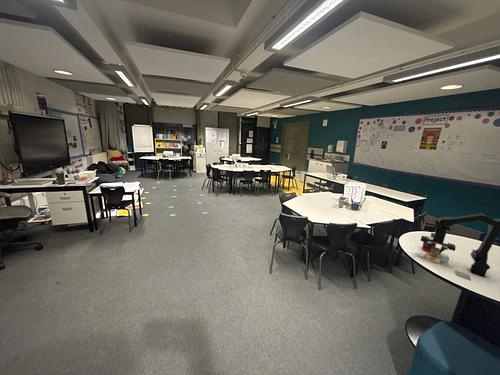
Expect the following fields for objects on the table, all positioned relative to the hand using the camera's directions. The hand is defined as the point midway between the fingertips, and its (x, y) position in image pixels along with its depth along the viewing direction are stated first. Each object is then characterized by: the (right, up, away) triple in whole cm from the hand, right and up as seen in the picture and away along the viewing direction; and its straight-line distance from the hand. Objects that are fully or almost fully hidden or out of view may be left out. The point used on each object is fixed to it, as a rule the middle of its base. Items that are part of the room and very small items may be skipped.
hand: (434, 253), depth 150 cm
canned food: (+8, -3, +15) cm, 17 cm away
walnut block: (0, -1, 0) cm, 1 cm away
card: (+6, -10, -15) cm, 19 cm away
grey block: (+7, -6, +1) cm, 10 cm away
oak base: (0, -6, +2) cm, 6 cm away
